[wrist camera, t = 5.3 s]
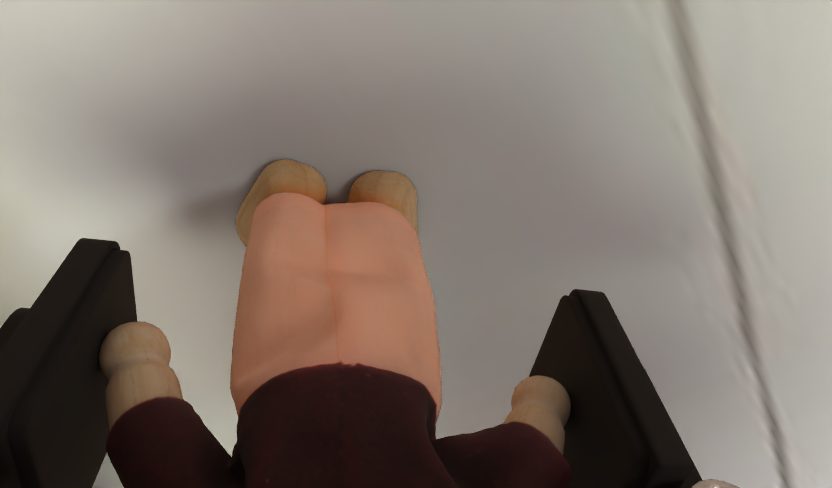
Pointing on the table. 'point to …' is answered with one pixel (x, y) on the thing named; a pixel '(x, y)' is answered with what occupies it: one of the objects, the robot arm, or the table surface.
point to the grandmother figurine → (325, 363)
